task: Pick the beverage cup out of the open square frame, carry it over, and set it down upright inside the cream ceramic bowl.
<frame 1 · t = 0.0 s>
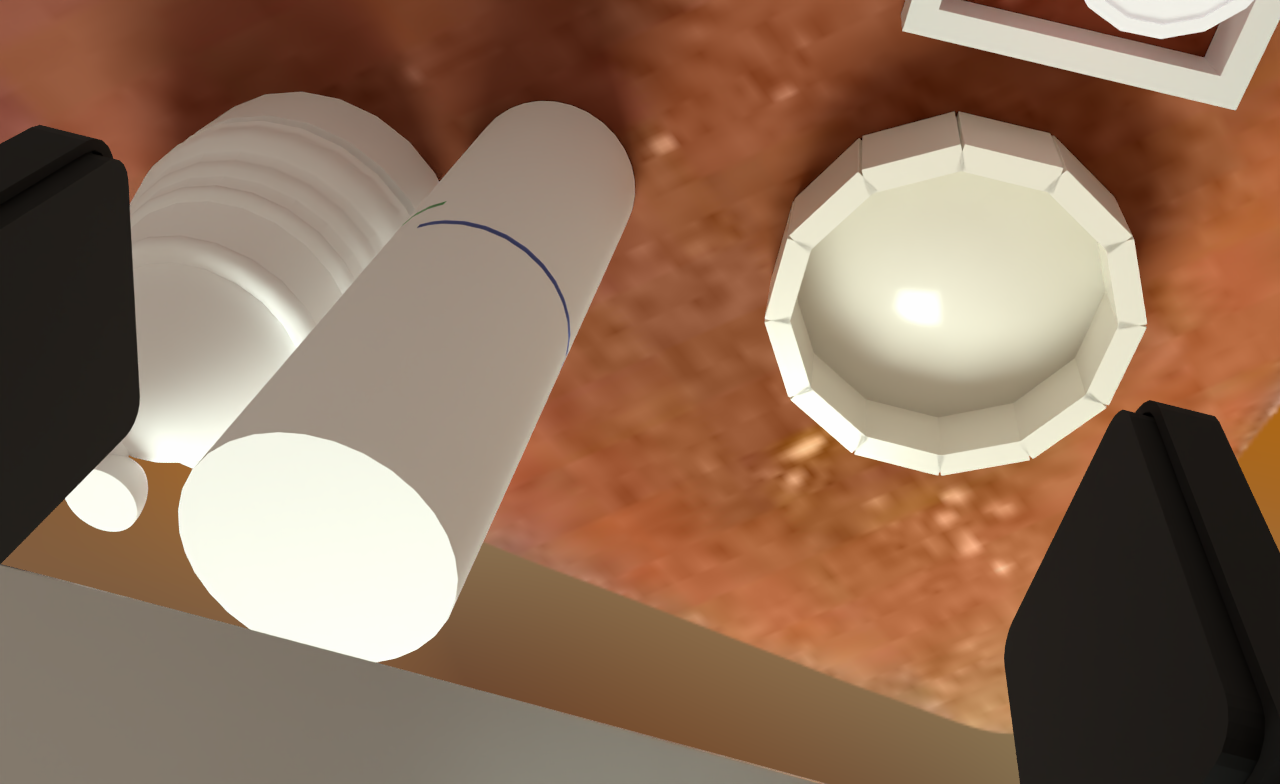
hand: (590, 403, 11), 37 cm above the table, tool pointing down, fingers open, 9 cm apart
cylindrical container: (553, 182, 50), on the table
bowl: (945, 280, 49), on the table
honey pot: (323, 230, 53), on the table
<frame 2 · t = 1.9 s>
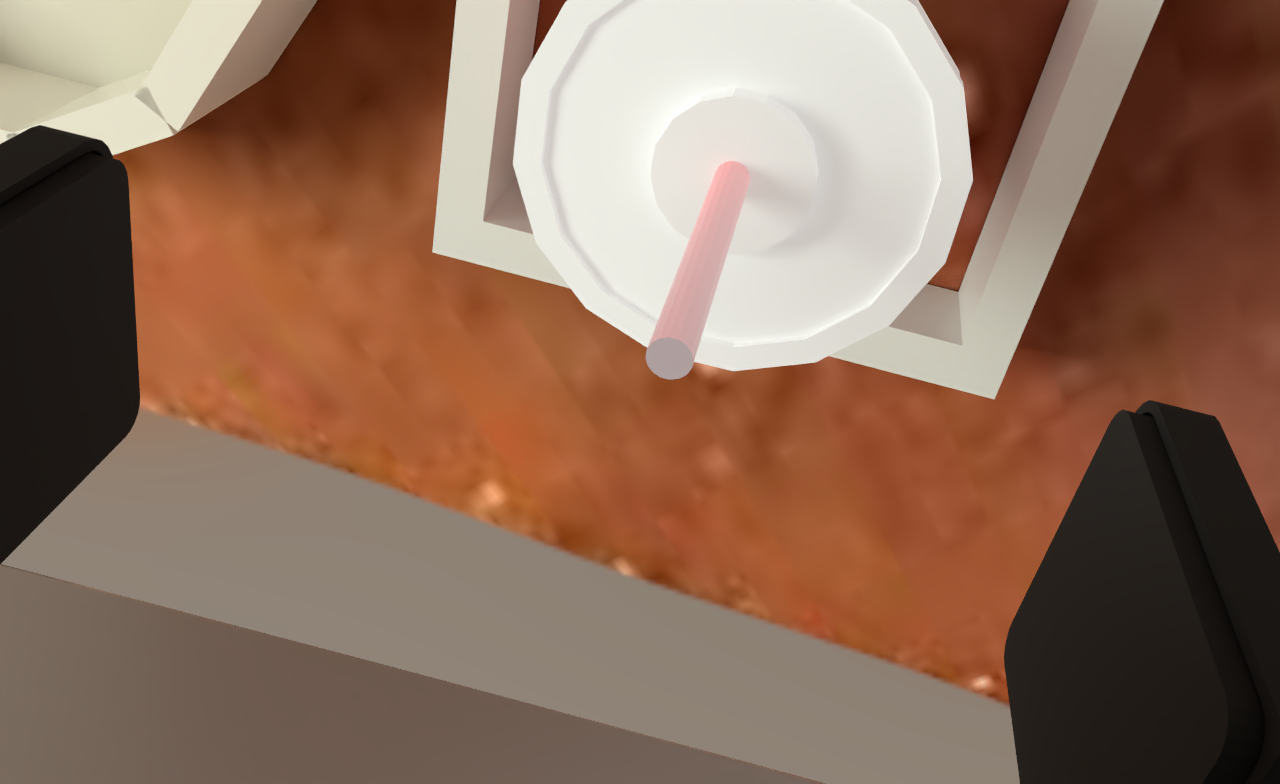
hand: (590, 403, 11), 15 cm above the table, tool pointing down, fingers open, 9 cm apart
beverage cup: (792, 4, 23), resting in open square frame
open square frame: (791, 7, 23), on the table
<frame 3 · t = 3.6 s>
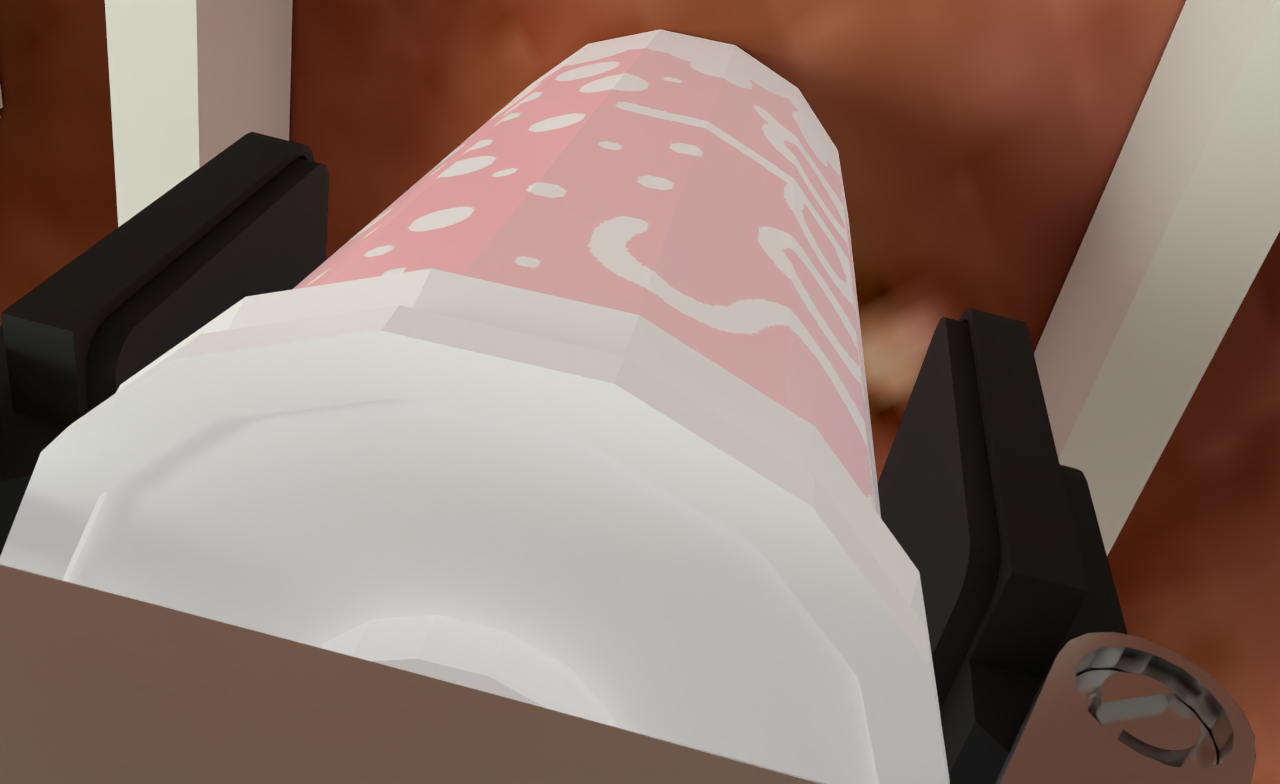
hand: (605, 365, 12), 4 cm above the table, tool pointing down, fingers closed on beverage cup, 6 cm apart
beverage cup: (667, 207, 15), resting in open square frame, touching gripper
open square frame: (665, 213, 15), on the table
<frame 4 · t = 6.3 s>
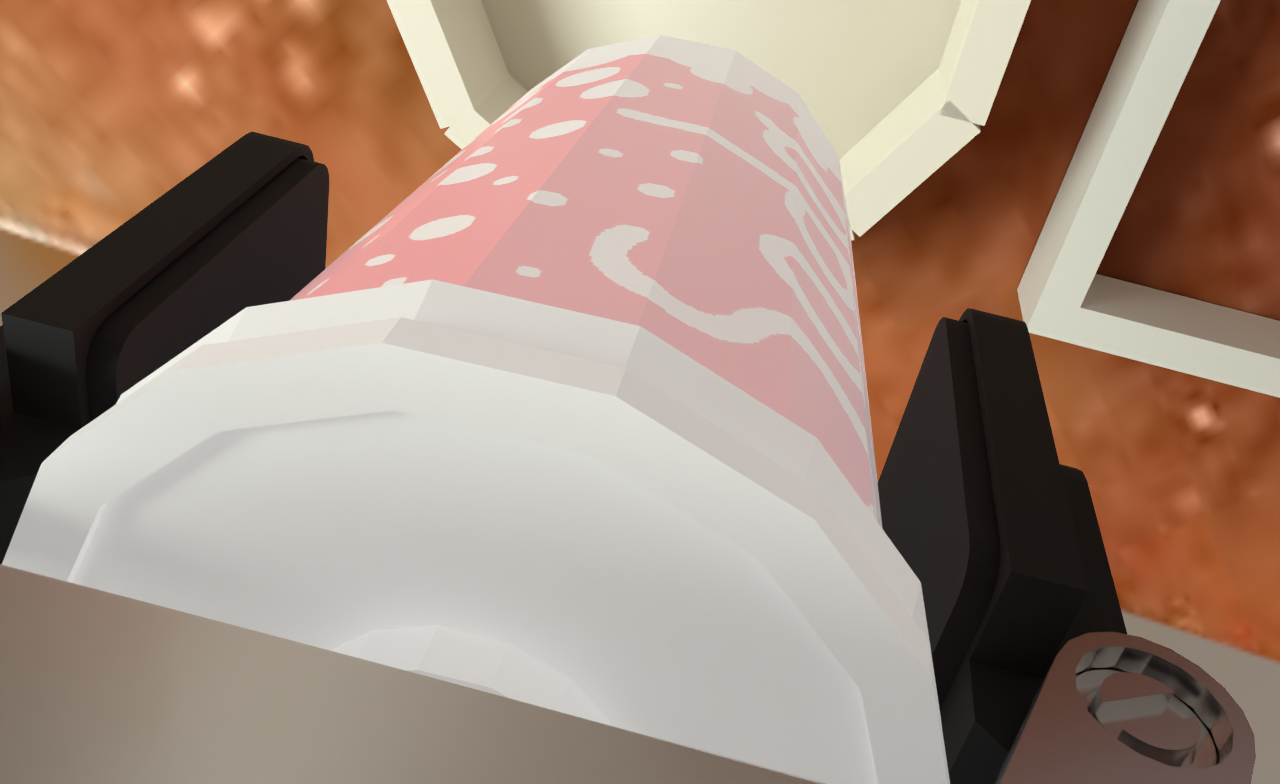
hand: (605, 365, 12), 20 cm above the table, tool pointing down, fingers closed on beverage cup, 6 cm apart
beverage cup: (668, 211, 15), point 16 cm above the table, touching gripper
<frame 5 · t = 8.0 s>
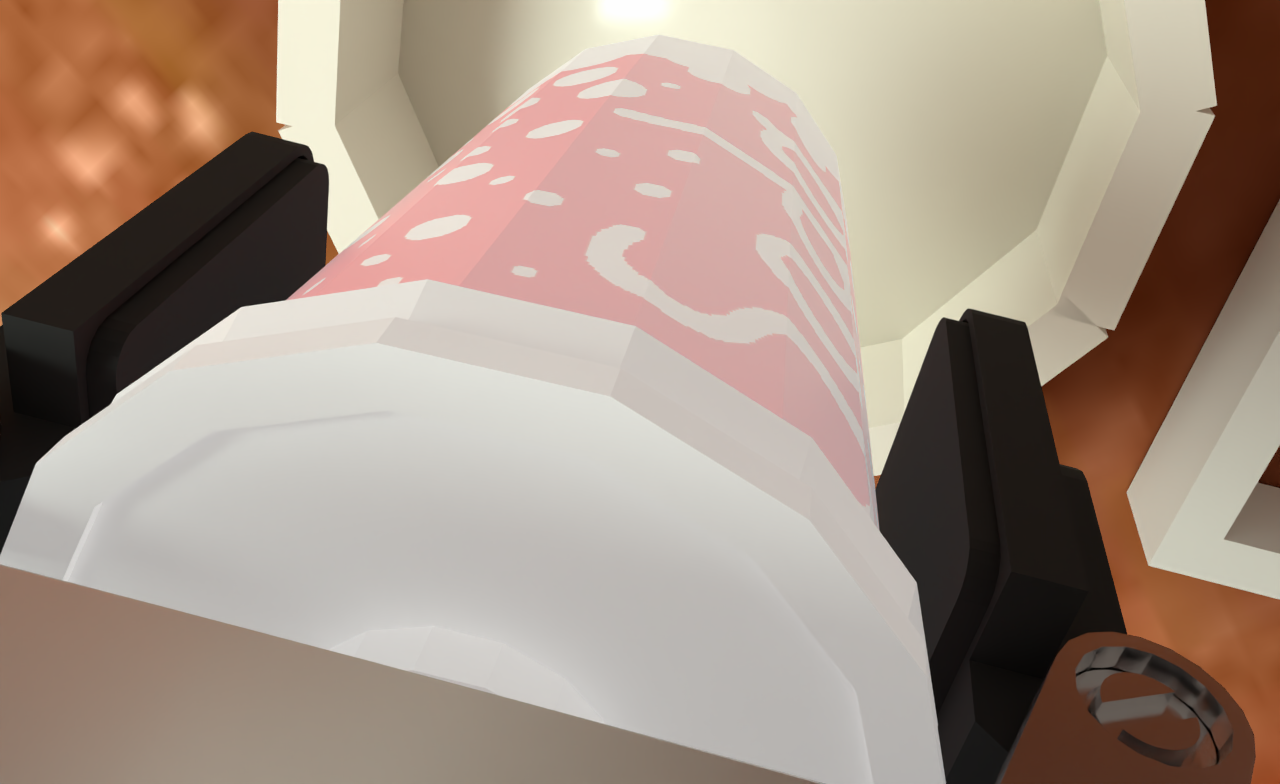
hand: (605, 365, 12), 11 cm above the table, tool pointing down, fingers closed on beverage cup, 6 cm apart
beverage cup: (666, 211, 15), point 7 cm above the table, touching gripper
bowl: (737, 52, 21), on the table
when the fingers open (7 cm above the table, at t = 9.4 s): beverage cup drops 2 cm, resting on bowl.
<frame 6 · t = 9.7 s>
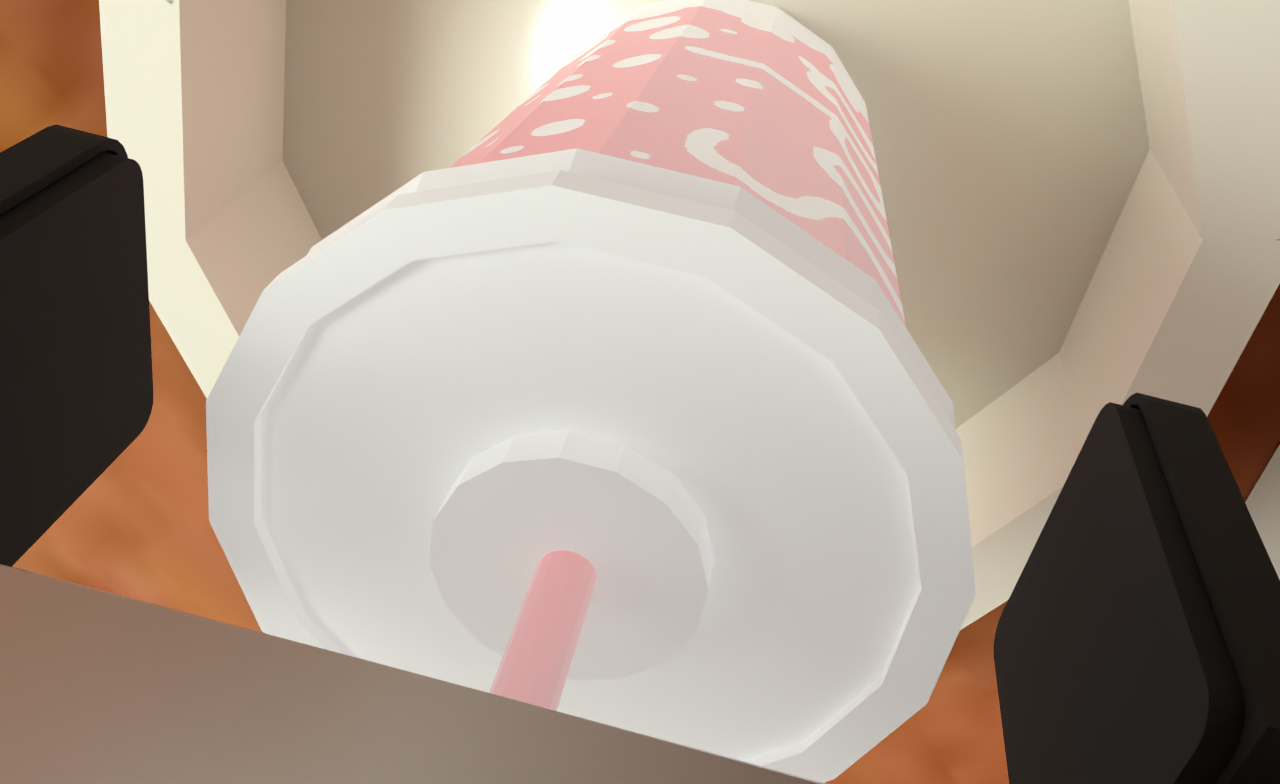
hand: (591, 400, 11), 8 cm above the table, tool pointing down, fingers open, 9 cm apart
beverage cup: (710, 153, 17), point 1 cm above the table, touching bowl
bowl: (694, 136, 17), on the table
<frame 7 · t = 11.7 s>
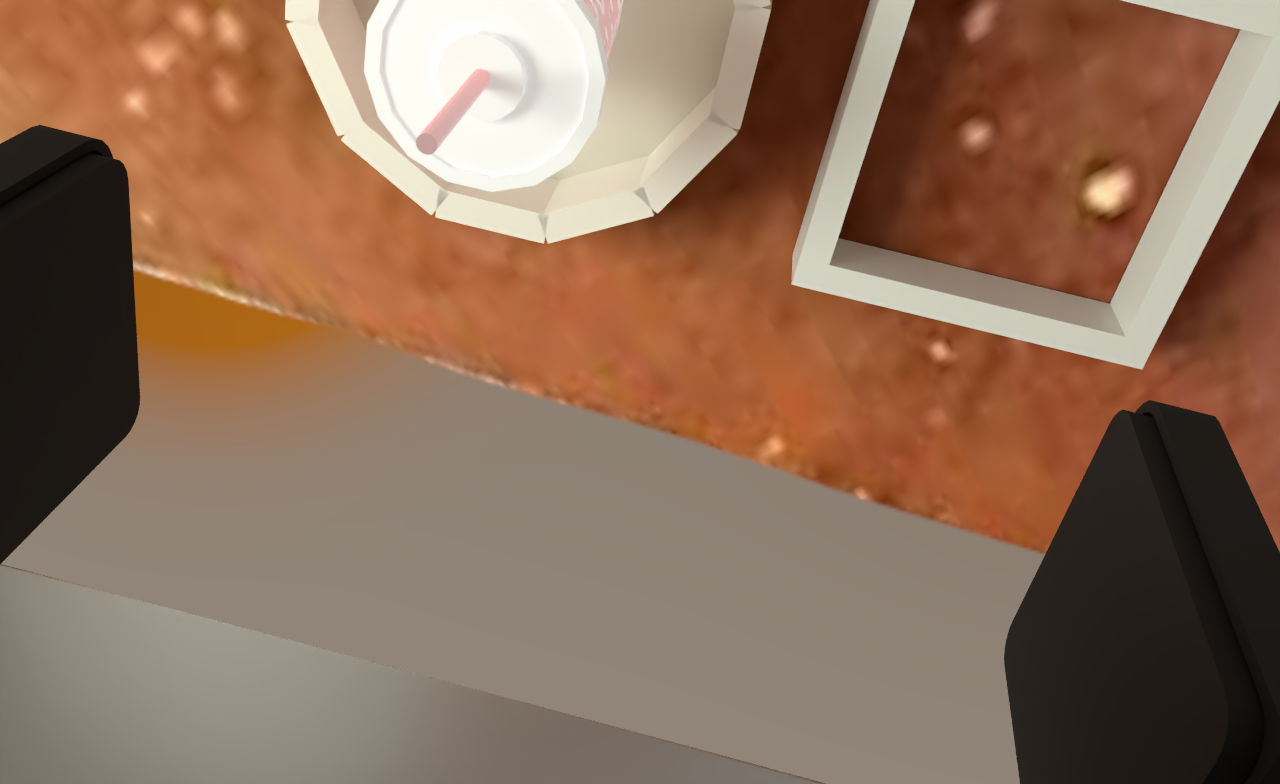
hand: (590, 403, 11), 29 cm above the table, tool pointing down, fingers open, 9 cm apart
open square frame: (1023, 133, 38), on the table
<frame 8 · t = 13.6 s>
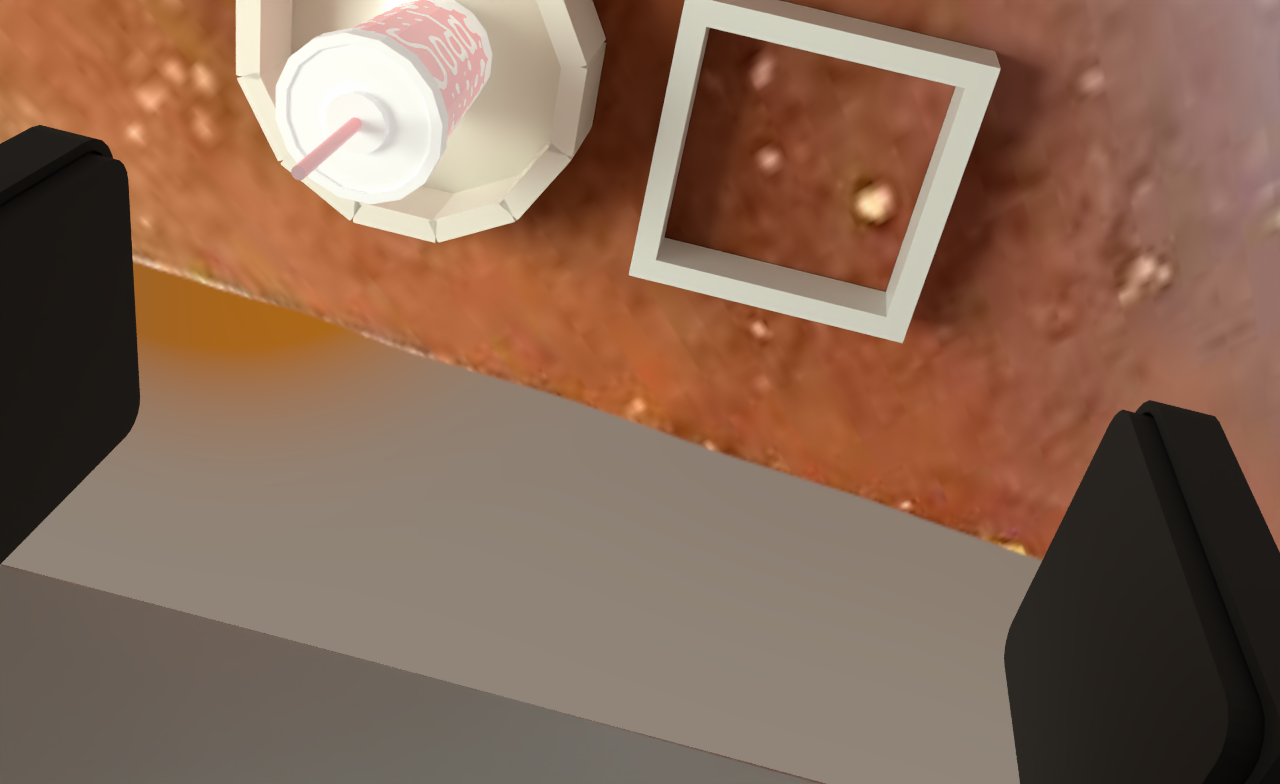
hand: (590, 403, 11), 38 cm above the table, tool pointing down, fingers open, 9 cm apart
beverage cup: (439, 51, 49), point 1 cm above the table, touching bowl
bowl: (437, 46, 49), on the table
open square frame: (804, 158, 49), on the table
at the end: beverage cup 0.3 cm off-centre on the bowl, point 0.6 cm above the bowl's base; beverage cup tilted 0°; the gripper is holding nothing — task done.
